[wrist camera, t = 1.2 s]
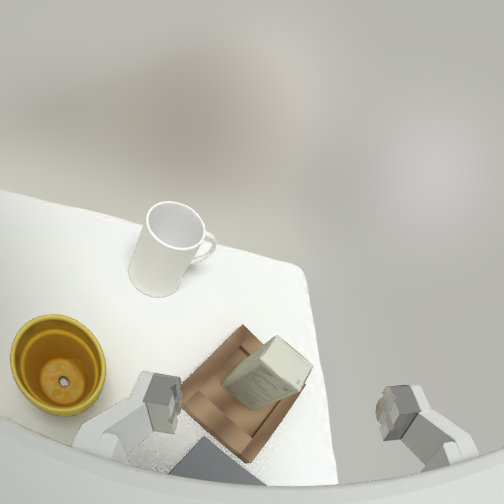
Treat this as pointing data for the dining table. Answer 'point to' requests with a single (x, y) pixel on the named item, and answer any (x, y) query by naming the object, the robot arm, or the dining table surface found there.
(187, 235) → the mug
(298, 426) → the dining table surface
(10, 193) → the dining table surface
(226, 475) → the mat
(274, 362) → the skincare box
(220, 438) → the walnut tray
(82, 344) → the plant pot
